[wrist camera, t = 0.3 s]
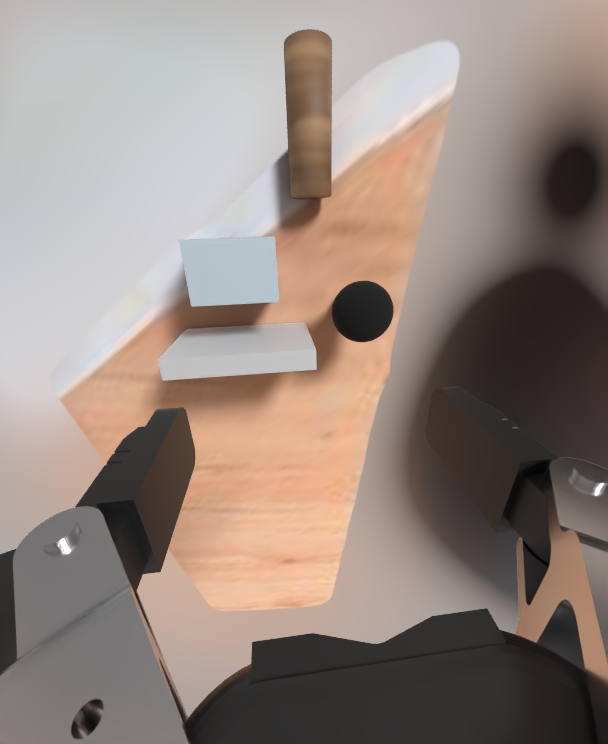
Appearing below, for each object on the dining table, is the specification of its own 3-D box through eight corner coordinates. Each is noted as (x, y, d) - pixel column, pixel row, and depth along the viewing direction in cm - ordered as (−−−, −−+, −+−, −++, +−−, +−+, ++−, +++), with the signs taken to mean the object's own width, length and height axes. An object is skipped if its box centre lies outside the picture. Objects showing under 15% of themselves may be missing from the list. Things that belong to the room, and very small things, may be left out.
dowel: (284, 58, 27) (282, 30, 23) (329, 57, 27) (334, 28, 23) (291, 199, 31) (289, 194, 28) (329, 198, 31) (333, 192, 28)
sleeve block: (198, 239, 32) (178, 240, 25) (273, 236, 32) (274, 236, 25) (207, 292, 34) (191, 306, 27) (277, 289, 34) (279, 302, 28)
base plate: (186, 328, 35) (157, 360, 26) (304, 321, 36) (316, 349, 27) (189, 344, 36) (162, 380, 27) (305, 337, 37) (316, 369, 28)
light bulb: (327, 328, 37) (346, 357, 28) (316, 281, 35) (332, 296, 26) (373, 315, 37) (406, 340, 28) (365, 266, 34) (398, 277, 25)
